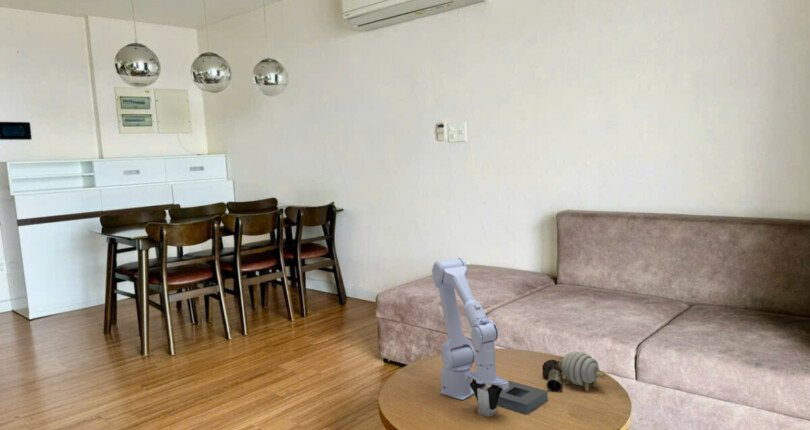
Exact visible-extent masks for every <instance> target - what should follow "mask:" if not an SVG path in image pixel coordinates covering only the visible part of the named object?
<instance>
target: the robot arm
mask: <svg viewBox="0 0 810 430" xmlns="http://www.w3.org/2000/svg"><path fill="white" fill-rule="evenodd" d="M431 273H432V278H433V283H434V287H435V288H437V289H438V292H439V297H440V298H439V299H440V304H441V307H442V313H443V319H444V320H443V321H444V325H445V330H446V334H447V339H446V340H445V341H444V342H443V344H442V345H441V361H442V364H443V365H444V366H443V367H442V369H441V372H440V378H441V379H440V380H441V382H440V383H441V391H440V394H442V395H445V396H447V397H452V398H455V399H457V400H460V401H464V400H466V399H467V398H469V397H471V396H473V395H475V399H476V401H477V403H478V393H477V388H478V387H480V386H482V385H484V384H488V385H491V387H489V388H487V391H488V394H489V397H490V407H491V410H494V409H495V408H497V409H498V405H497V403H498V399H499V396H500V393H501V391H502V389H503V390H506V389H508V388H509V382H508V381H509V380H508V381H507V380H504V379H502V378H501V377H499V376H498V375H496V374H497V373H496V351H495V350H496V349H495V348H496V347H495V342H496V341H497V340H498V338H499V331H498V327H497V324H496V323H495V322H494V321H492V320H491V319H490V318H488V317H487V314H486V312H485V310H484V309H483V306H482V304H481V302H479V301H478V300H475V297H474V295H473V292H472V289H471V286H470V284H469V282H468V279H467V276H468V267H467V263H466V261H464V259H463V258H461V257H459V258H456V259H447V260H441V261H435V262H434V264H433V266H432V269H431ZM456 293H457V294H458V296H459V299H460V300H461V302H462V303H463V305H464V306H463V308H462V311H463V314H464V316H465V318H466V320H467V321H468V324H469V326H470V329H471V330H470V337H471V340H472V341H471V340H470V339H469V338H467V337H465V336H464V331H463V328H462V322H461V317H460V311H459V307H458V301H457V297H456V296H457V295H456ZM474 363H475V371H471V368H473V364H474Z"/></svg>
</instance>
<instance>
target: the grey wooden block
mask: <svg viewBox="0 0 810 430" xmlns="http://www.w3.org/2000/svg"><path fill="white" fill-rule="evenodd" d="M489 387H491V385H489V384H484V385H482V386H480V387H478V388H477V393H478V402H477V409H478V410H477V411H478V412H477V413H478V415H481V416H484V417H488V418H490V417H492V416H494V415H496V414H497V413H498V407H497V408H495V409H494V410H491V407H490V397H489V394H488V391H487V388H489Z"/></svg>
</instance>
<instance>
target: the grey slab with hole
mask: <svg viewBox="0 0 810 430" xmlns="http://www.w3.org/2000/svg"><path fill="white" fill-rule="evenodd" d="M508 382H509V388H508V389H506V390H503V389H502V391H501V393H500V396H499V399H498V403H497V407H498V406H499V407H502V408H506V409H508V410H511V411H515V412H518V413H520V414H525V415H529V414H531V413H532V412H533V411H535V410H536V409H538V408H539V407H540V406H541V405H543V404H545V403H546V402H548V400H549V397H548V394H549V393H548V390H546V389H545V390H544V389H542V388H538V387H535V386H530V385H526V384H522V383H519V382H515V381H513V380H508Z"/></svg>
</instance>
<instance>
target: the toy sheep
mask: <svg viewBox="0 0 810 430" xmlns="http://www.w3.org/2000/svg"><path fill="white" fill-rule="evenodd" d="M558 361H559V368H560V369H561V370H562V371H563V372H562V374H563V375H564V376H565V377H564V378H565V385H570V382H572V384H573V385H576V386H582V387H584V391H585V392H588V391H589V390H590V384H591V386H592V387H593V388H596V387H597V379H598V377H599V378H600V379H603V378H605V376H606V375H605V373H603V372H600V366H599V363H598V361H597V360H596V359H595V358H594V357H592V356H591V355H589V354H587V353H585V352H578V351H571V352H568V353H567V354H565V355H564V357H562V358H561V359H560V360H558Z"/></svg>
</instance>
